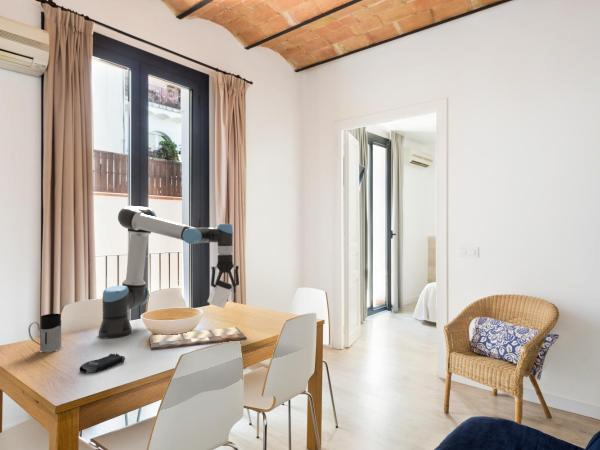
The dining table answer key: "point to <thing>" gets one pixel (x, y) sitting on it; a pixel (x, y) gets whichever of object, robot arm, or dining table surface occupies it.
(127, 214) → the robot arm
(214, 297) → the jar
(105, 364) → the electronic device
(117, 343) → the dining table surface
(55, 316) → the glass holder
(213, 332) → the board
